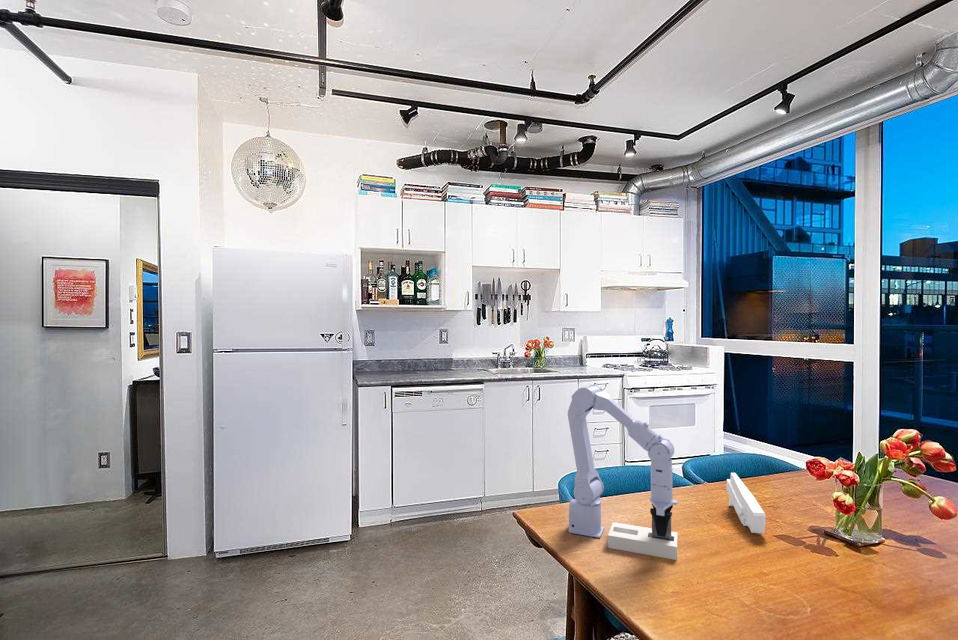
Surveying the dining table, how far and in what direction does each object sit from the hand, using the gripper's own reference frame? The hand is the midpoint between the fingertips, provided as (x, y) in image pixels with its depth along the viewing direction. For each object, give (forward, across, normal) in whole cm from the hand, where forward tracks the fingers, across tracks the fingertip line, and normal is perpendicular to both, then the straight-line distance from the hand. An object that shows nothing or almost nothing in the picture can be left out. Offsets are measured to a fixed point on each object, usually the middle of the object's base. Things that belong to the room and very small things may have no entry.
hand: (661, 532), depth 134 cm
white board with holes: (+5, 0, +5) cm, 7 cm away
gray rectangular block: (+5, 0, 0) cm, 5 cm away
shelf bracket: (+5, +32, -23) cm, 40 cm away
